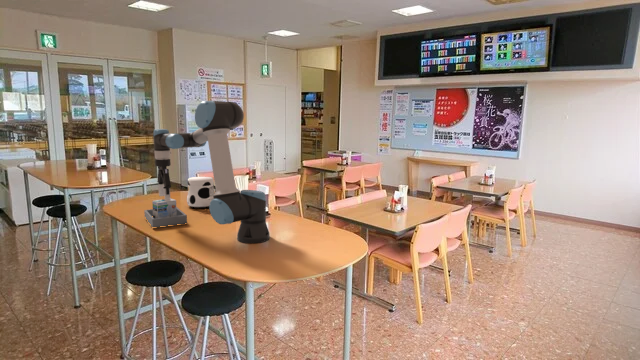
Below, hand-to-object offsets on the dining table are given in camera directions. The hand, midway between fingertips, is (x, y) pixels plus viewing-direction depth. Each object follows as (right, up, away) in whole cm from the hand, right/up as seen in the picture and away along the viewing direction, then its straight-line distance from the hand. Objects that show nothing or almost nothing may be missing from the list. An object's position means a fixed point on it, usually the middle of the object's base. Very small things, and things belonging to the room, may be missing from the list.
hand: (164, 198), depth 207 cm
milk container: (+8, -7, +38) cm, 39 cm away
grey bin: (0, -13, +2) cm, 13 cm away
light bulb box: (-1, -12, +2) cm, 12 cm away
